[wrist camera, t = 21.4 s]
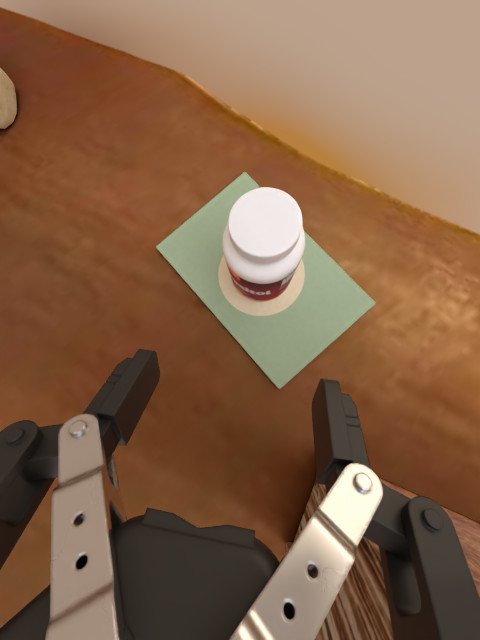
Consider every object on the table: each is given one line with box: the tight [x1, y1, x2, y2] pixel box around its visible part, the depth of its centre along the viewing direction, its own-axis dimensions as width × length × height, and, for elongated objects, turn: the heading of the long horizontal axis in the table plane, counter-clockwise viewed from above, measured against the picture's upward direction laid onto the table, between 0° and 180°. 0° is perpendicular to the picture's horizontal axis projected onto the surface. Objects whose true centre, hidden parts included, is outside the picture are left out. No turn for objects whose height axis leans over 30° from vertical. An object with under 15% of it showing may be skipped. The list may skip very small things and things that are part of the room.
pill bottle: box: [222, 187, 305, 302], centre depth 22 cm, size 6×6×11 cm
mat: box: [156, 172, 376, 389], centre depth 28 cm, size 13×20×1 cm, turn 41°
